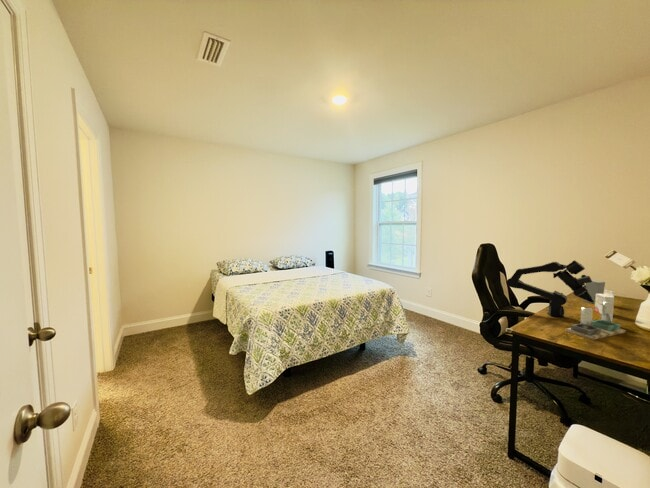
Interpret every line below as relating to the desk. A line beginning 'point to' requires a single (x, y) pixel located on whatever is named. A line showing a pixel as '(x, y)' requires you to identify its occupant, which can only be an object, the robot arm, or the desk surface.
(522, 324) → the desk surface
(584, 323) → the block
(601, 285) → the skincare box
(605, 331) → the pallet
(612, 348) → the desk surface
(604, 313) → the billet
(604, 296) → the ink cartridge box
